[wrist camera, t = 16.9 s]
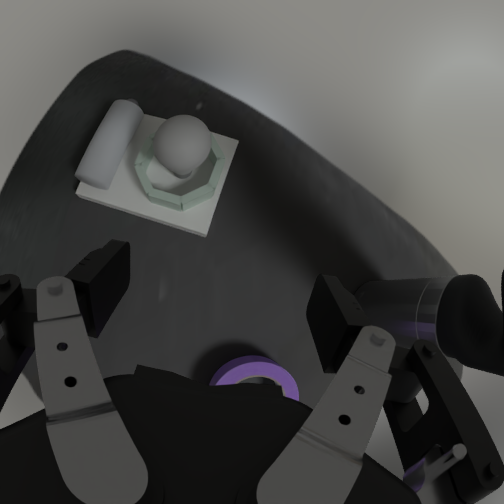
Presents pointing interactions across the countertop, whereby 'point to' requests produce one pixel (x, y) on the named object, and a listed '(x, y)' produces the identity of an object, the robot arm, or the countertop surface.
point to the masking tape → (256, 373)
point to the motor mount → (150, 172)
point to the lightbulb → (182, 144)
